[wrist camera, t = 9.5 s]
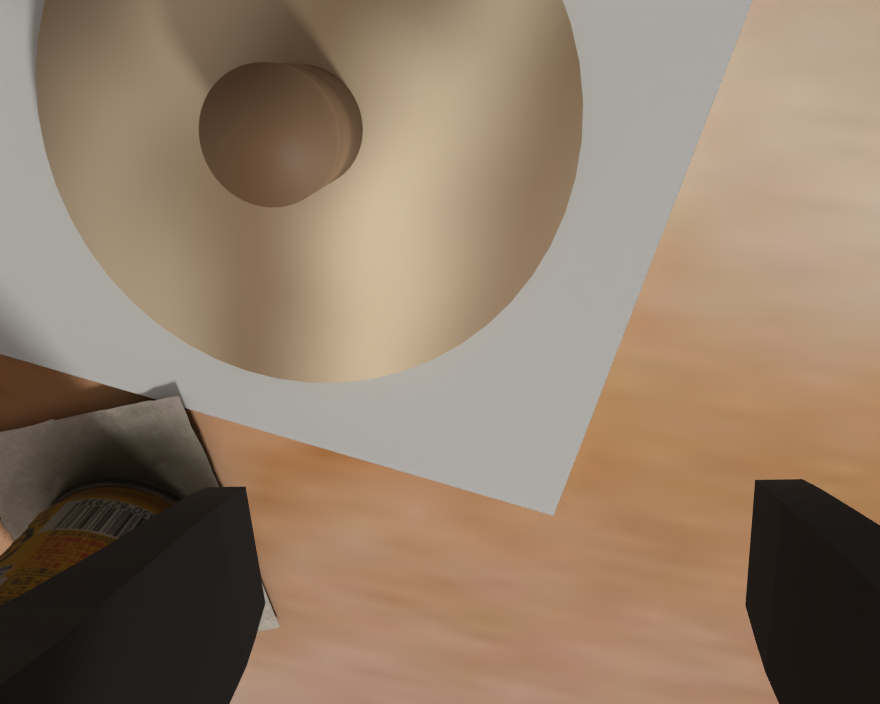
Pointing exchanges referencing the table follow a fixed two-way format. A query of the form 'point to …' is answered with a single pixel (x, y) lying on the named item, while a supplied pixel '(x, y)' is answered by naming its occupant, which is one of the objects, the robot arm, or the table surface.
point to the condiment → (93, 486)
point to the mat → (460, 369)
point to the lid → (313, 167)
